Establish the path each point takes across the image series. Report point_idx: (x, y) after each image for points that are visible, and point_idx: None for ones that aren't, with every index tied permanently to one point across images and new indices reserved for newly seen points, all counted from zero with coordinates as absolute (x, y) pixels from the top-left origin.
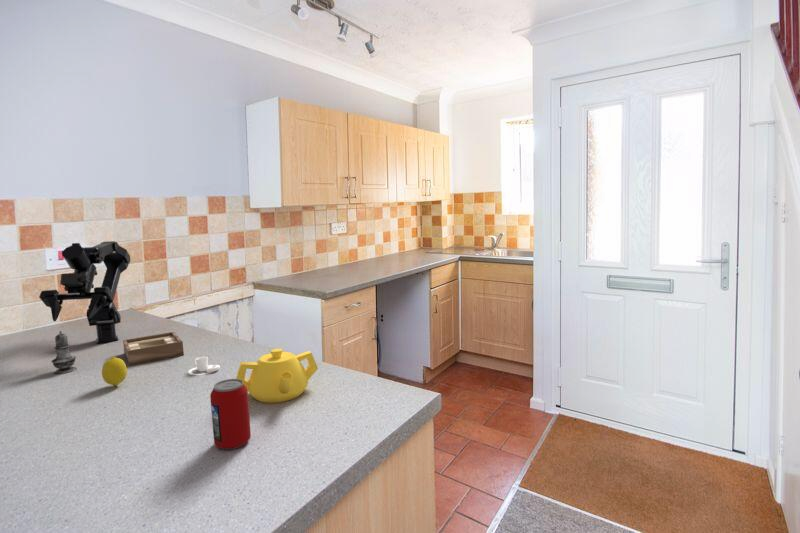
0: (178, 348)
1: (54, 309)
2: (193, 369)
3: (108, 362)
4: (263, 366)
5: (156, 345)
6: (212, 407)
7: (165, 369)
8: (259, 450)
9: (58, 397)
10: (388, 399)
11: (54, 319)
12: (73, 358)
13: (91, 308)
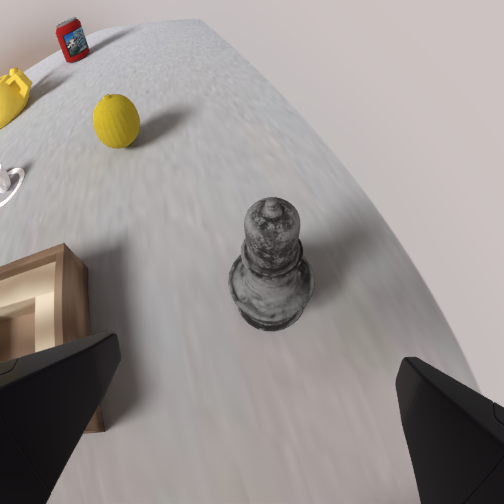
0: None
1: (467, 408)
2: (11, 194)
3: (118, 94)
4: (10, 76)
5: (2, 271)
6: (81, 27)
7: (37, 209)
8: None
9: (221, 124)
10: None
11: (403, 360)
12: (233, 268)
13: (42, 358)
